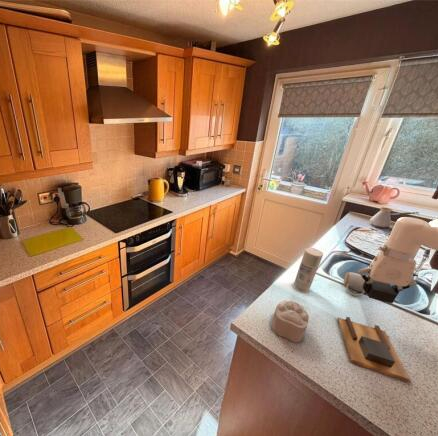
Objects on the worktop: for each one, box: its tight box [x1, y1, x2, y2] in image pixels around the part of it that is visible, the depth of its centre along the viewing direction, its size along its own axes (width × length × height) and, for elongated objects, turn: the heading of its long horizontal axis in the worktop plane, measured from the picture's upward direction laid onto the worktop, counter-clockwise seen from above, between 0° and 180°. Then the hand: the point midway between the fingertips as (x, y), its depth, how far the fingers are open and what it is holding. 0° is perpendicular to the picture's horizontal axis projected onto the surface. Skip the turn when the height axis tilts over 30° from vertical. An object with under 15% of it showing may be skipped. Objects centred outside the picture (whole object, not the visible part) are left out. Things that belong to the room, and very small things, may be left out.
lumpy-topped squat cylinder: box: [271, 300, 310, 343], centre depth 87 cm, size 10×13×9 cm
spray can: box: [293, 247, 324, 293], centre depth 104 cm, size 6×6×20 cm
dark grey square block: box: [366, 281, 398, 304], centre depth 85 cm, size 6×6×4 cm
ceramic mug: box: [342, 271, 366, 297], centre depth 105 cm, size 11×8×8 cm
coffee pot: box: [369, 206, 420, 229], centre depth 161 cm, size 21×12×15 cm, turn 43°
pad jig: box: [337, 316, 411, 382], centre depth 80 cm, size 14×19×4 cm
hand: (377, 293), depth 85 cm, fingers closed on dark grey square block, 6 cm apart
